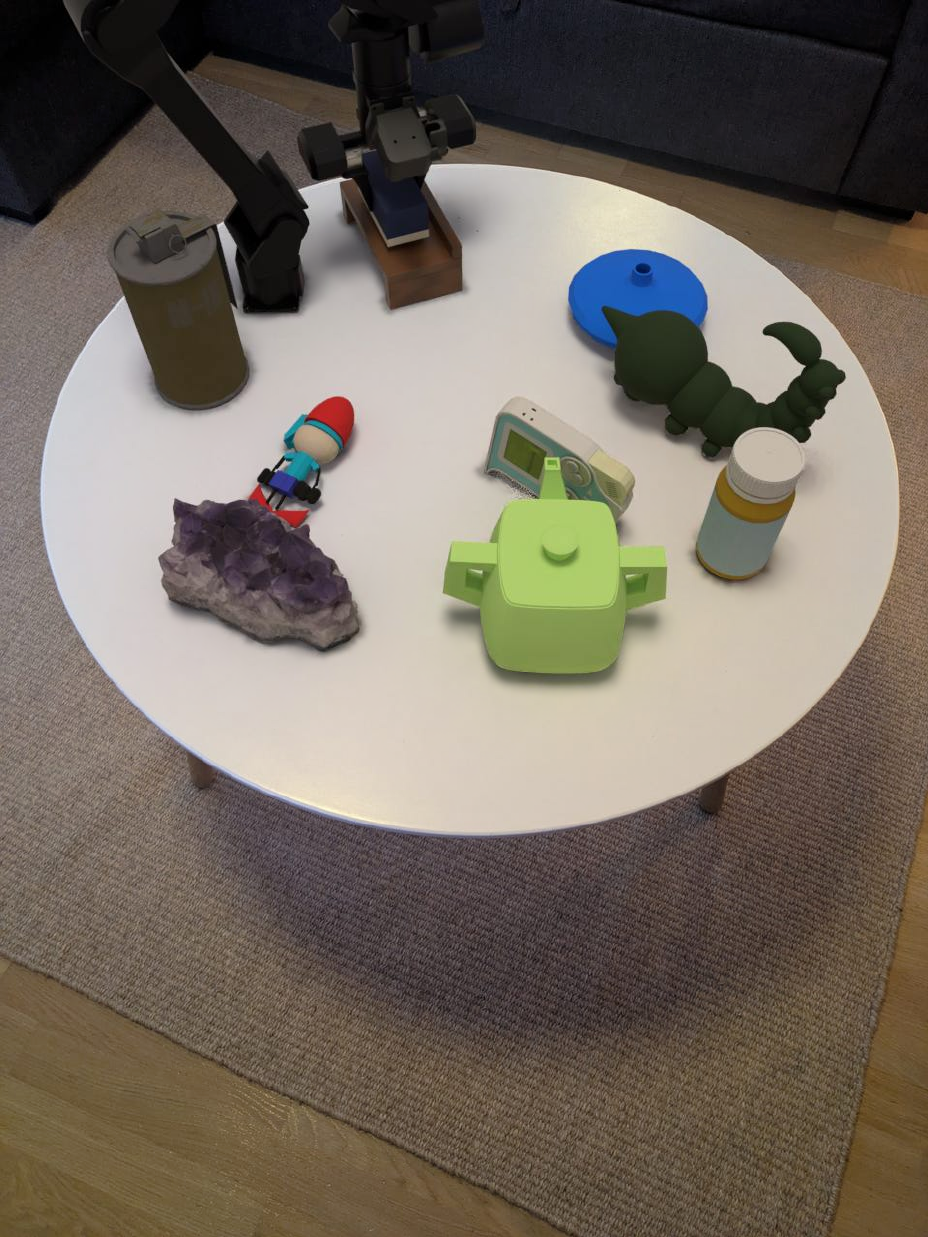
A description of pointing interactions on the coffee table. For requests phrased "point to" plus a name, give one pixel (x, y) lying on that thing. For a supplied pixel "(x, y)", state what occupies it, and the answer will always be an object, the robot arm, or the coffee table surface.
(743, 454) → the bottle
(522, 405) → the handheld gaming console
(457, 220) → the coffee table surface
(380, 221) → the dark blue rectangular block
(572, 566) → the teapot
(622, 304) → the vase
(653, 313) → the green caterpillar figure
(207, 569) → the geode
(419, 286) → the sharpening stone holder
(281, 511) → the toy figure
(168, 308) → the canister
